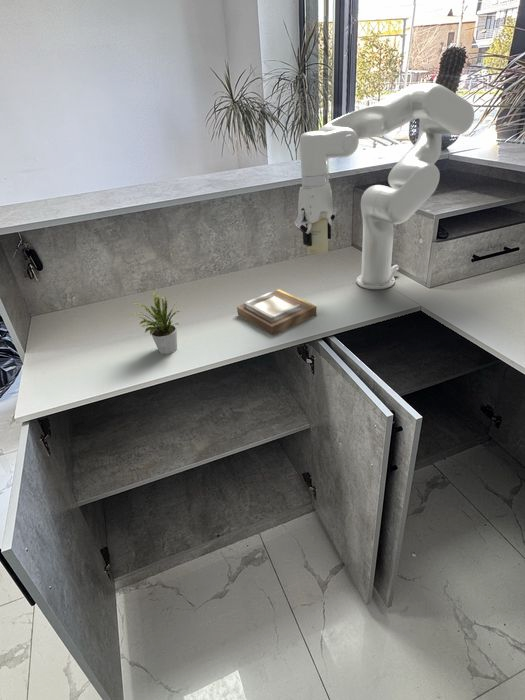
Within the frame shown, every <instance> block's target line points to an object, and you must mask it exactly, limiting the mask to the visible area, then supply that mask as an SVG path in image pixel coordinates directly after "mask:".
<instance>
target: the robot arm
mask: <svg viewBox="0 0 525 700" xmlns="http://www.w3.org/2000/svg"><path fill="white" fill-rule="evenodd" d="M416 119H418V120H419V124H418V125H419V127H418V136H417V139H416V142H415V143H414V144H413V146H412V147H411V148H410V149H409V150H408V151H407V152H406V154H404V156H403V157H401V158H400V160H399V161H398V162H397V163H395V165H394V166H393V167H392V168H391V170H390V171H389V174H388V177H387V182H388V184H389V186H386V185H382V184H375V185H370V186H369V187H367V188H366V189H365V190H364V191H363V194H362V196H361V198H360V199H361V200H360V210H361V211H360V212H361V215H362V216H361V217H362V246H361V247H362V248H361V250H362V251H361V274H359V276H357V277H356V283H357V285H358V286H360V287H361V288H363V289H368V290H384V289H388V288H390V287H393V286H394V284H395V281H396V279H395V276H393V273H394V272H396V271H399V269H400V266H399V265H398V264H394V265H392V259H393V257H392V256H393V245H394V244H393V243H394V225H400V224H402V223H404V222H406V221H407V220H409V218H411V217H412V216H413V215H414V214H415V213H416V212H417V211H418V210H419V209H420V208H421V207H422V206H423V205H424V204H425V202H427V201H428V199H429V198H430V197H431V196H432V195H433V194H434V193H435V191H436V190H437V188H438V185H439V182H440V177H441V175H440V173H441V172H440V170H439V168H438V167H437V166H436V163H437V161H438V160H439V159H440V155H441V153H442V137H443V135H451V136H460V135H463V134H464V133H466V132H467V131H468V130H469V129H471V126H472V125H473V122H474V119H475V110H474V107H473V106H472V104H471V102H469V101H468V100H466V99H465V98H463V97H461V96H460V95H458V94H457V93H455V92H454V91H452V90H451V89H449V88H447V86H444V85H442V84H439V83H416V84H415V83H414V84H411V85H408V86H406V87H404V88H403V89H401V90H398V91H397V92H395V93H393V94H392V95H389V96H387V97H385V98H384V99H382V100H380V101H378V102H376V103H374V104H370V105H368V106H365V107H362V108H360V109H358V110H355V111H351V112H349V113H346V114H343V115H341V116H340V117H336V118H335V119H333V120H331V121H330V122H328V123H326V124H324V125H323V126H321V127H320V128H319V129H318V130H313V131H312V130H311V131H306V132H303V133H301V135H300V137H299V147H300V169H301V171H300V172H301V186H300V187H299V191H298V199H297V201H298V202H297V203H298V205H297V210H298V212H297V213H298V215H297V217H296V219H294V222H293V223H294V224H295V226H296V227H297V229H298V230H299V231H300V232H301V233H302V241H303V243H302V244H303V246H306V247H307V246H312V234H311V233H310V230H311V227H312V224H313V223H316V222H318V221H319V218H320V214H322V213H324V212H327V222H328V240H330V239H332V226H333V224H334V222H333V221H334V220H335V219H336V214H337V212H338V210H339V209H338V207H336V206H335V205H334V203H333V193H332V187H331V184H330V183H331V182H330V181H329V180H330V177H331V173H330V172H329V169H330V167H329V159H343V158H344V159H345V158H348V157H350V156H351V155H353V154H354V153H355V152H356V151H357V150H358V147H359V140H360V139H361V140H362V139H366V138H367V139H368V138H377V137H381V136H385V135H387V134H389V133H391V132H392V131H394V130H396V129H399V128H400V127H402V126H404V125H406V124H408V123H410V122H411V121H413V120H416ZM306 219H307V221H306ZM306 224H308V225H307V228H306Z"/></svg>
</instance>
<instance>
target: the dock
mask: <svg viewBox="0 0 525 700" xmlns="http://www.w3.org/2000/svg"><path fill="white" fill-rule="evenodd" d="M317 309H318V308H317V305H315V304H312V303H311V302H308V301H306V300H304V299H302V298H301V297H298V296H296V295H293V294H291V293H289V292H287V291H284V290H282V289H280V288H278V289H276V290H274V291H270V292H267V293H265V294H262V295H260V296H258V297H254V298H252V299H250V300H247V301H244V302H243V303H242V304H240V305H238V306H236V310H237V311H236V312H237V316H239V317H240V318H242V319H243V320H245V321H247V322H248V323H250V324H252V325H254V326H256V327H257V328H259V329H261V330H262V331H264V332H266V333H267V334H269V335H271V336H273V337H274V336H275V335H277V334H280V333H282V332H284V331H286V330H289V329H291V328H293V327H295V326H297V325H300V324H302V323H303V322H305V321H307V320H311V319H312V318H314V317H316V316H318V315H317V314H318V313H317Z"/></svg>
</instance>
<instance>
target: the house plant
mask: <svg viewBox="0 0 525 700" xmlns="http://www.w3.org/2000/svg"><path fill="white" fill-rule="evenodd" d="M160 296H161V298H160ZM153 302H154V306H153V305H150V308H151V310H150V309H149V307H147V306H146V305H144V304H141V303H137V302H133V304H135V305H138V306H140V307H142V309H144V310H145V311H146V312H148V313H147V314H148V315H147V314H146V313H145V312H143V316H145V317H142V316H139V315H140V314H142V312H135V313H132V314H131V316H133V315H136V317H138V318H140V319H142V320H141V321H140V322H139V325H140V327H141V328H142V329H143V328H145V331H144V333H147V332H148V331H149V335H150V336H152V337H151V338H152V340H153V341H154V343H155V346H156V348H157V349H158V352H159V353H160V354H162V355H170V354H173V353H174V352H176V351H177V350H178V336H177V335H178V334H177V333H178V332H177V331H178V330H177V327H176V325H177V326H180V325H179V322H176V323H174V324H172V323H173V320H171V319H172V318H173V317H174V316H175V315H176V314H177V313H178V312H181V311H180V310H176V309H177V307H175V305H176V304H177V302H175V303H174V305H173V307H172V308H171V310H170V311H169V313H168V299H167V297H166V296H165V298H164V296H163V295H161V294H159V295H158V296H157V294H156V292H155V291H153ZM161 307H162V309H161ZM174 307H175V308H174ZM173 310H176V311H174V312H173ZM172 312H173V313H172ZM150 317H151V318H150ZM152 318H153V319H154V320H155V321H154V320H153V319H152ZM141 324H142V325H141Z"/></svg>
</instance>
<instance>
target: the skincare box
mask: <svg viewBox="0 0 525 700" xmlns="http://www.w3.org/2000/svg"><path fill="white" fill-rule="evenodd" d="M306 221H307V219H306ZM307 225H308V224H306V228H307ZM310 233H311V234H312V246H307V245H306V252H307V254H308V255H318V254H319V255H321V254H322V255H323V254H328V250H329V249H328V247H329V246H328V245H329V243H328V241H329V239H328V222H327V212H324V213H322V214H320V218H319V221H318V222H316V223H313V224H312V227H311V230H310Z"/></svg>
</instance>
